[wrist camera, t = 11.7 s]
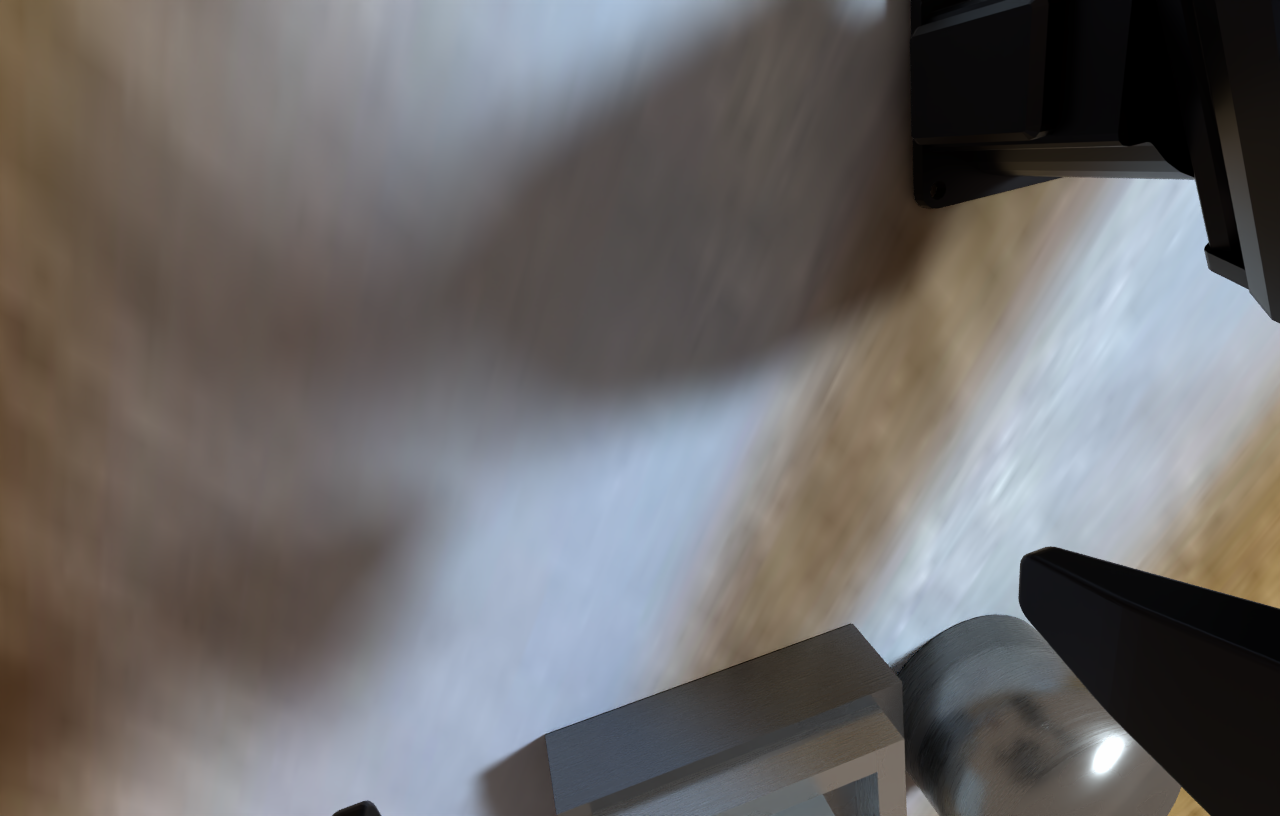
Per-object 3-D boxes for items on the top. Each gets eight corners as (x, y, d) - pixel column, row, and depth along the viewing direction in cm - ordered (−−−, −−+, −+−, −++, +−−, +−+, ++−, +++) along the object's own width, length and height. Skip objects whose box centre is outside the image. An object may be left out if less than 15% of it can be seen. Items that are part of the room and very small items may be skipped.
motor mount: (1052, 551, 25) (1212, 655, 20) (1034, 753, 30) (1159, 882, 25) (545, 735, 22) (571, 920, 17) (614, 930, 27) (653, 1124, 21)
